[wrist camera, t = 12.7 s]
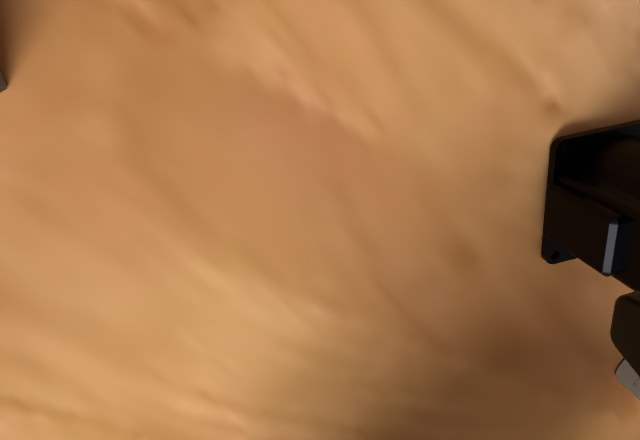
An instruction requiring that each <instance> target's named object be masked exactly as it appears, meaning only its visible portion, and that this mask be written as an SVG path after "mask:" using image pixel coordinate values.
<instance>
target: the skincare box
mask: <svg viewBox="0 0 640 440" xmlns="http://www.w3.org/2000/svg"><path fill="white" fill-rule="evenodd" d="M615 375H616V378H617V379H618V380H619V381H620V382H621V383H622V384H623V385H624V386H625V387H626V388H628V389H629V390H630V391H631V392H632V393H633V394H634V395H635V396H636V397H637V398H638V399H639V400H640V377H639V376H638V375H637V373H636V372H635V371H634V370H633V368H632V367H631V366H630V365H629V363H628V362H627V361H626V359H625V360H624V361H623V362H622V363H621V365H620V366H619V367H618V369H617V371H616V374H615Z"/></svg>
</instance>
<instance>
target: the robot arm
mask: <svg viewBox="0 0 640 440" xmlns="http://www.w3.org/2000/svg"><path fill="white" fill-rule="evenodd" d="M564 145H565V147H564V150H563V151H562V152H561V148H562V147H563V146H564ZM553 252H554V253H553ZM552 253H553V254H552ZM551 254H552V255H551ZM541 256H542V258H543V259H544V260H545V261H546V262H548V263H549V264H556V263H560V262H564V261H568V260H571V259H575V258H578V259H580V260H581V261H583V262H584V263H586V264H587V265H589V266H590V267H592V268H593V269H595V270H596V271H598V272H599V273H601V274H602V275H604V276H606V277H607V276H613V277H614V278H616V279H617V280H619V281H620V282H622V283H623V284H625V285H626V286H628V287H629V288H631V289H632V290H634V291H635V292H632V293H628V294H625V295H622V296H620V297H618V298H617V300H616V302H615V306H614V312H613V318H612V324H611V329H610V335H611V339H612V342H613V343H614V345H615V347H616V348H617V349H618V351H619V352H620V353H621V354H622V356H623V357H624V358H625V359H626V361H627V362H628V363H629V365H630V366H631V367H632V368H633V370H634V371H635V372H636V373H637V375H638V376H639V377H640V120H637V121H632V122H628V123H623V124H618V125H614V126H609V127H604V128H600V129H595V130H590V131H585V132H581V133H576V134H571V135H567V136H562V137H559V138H557V139H556V140H554V141H553V143H552V145H551V148H550V155H549V167H548V179H547V190H546V201H545V213H544V225H543V238H542V250H541Z"/></svg>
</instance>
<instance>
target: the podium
mask: <svg viewBox="0 0 640 440" xmlns="http://www.w3.org/2000/svg"><path fill="white" fill-rule="evenodd" d="M5 89H7V86H6V83H5V81H4V78H3V76H2V73H1V70H0V92H2V91H4V90H5Z"/></svg>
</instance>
